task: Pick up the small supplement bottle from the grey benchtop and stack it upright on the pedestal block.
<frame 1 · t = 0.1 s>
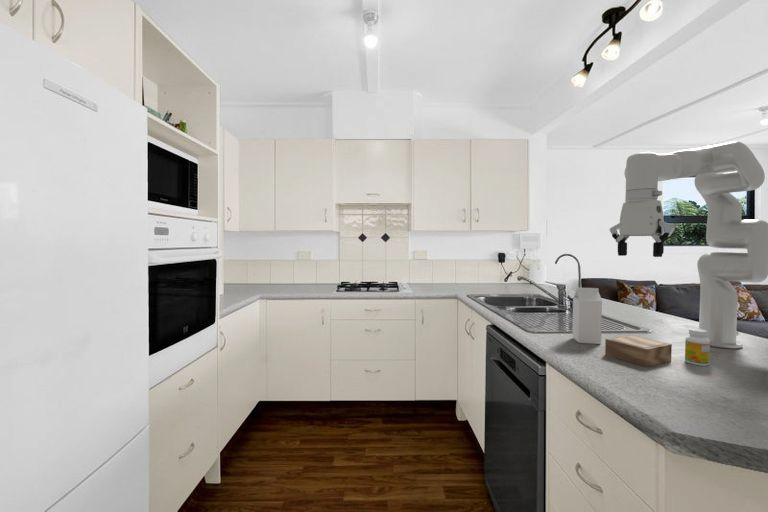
hand: (639, 256, 105), 31 cm above the worktop, fingers open, 9 cm apart
milk carton: (586, 341, 128), on the worktop
supplement bottle: (696, 363, 105), on the worktop
pedestal: (637, 357, 110), on the worktop
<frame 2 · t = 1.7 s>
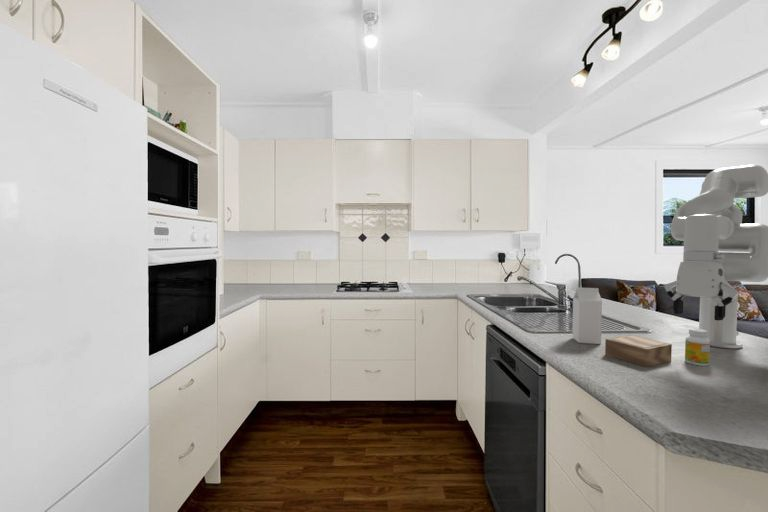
hand: (697, 316, 104), 14 cm above the worktop, fingers open, 9 cm apart
nothing on the worktop moved.
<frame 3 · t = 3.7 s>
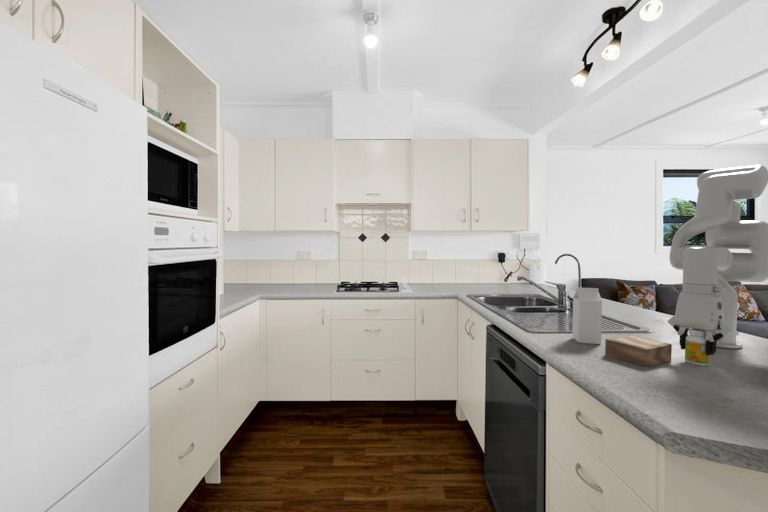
hand: (697, 351, 105), 3 cm above the worktop, fingers closed on supplement bottle, 5 cm apart
supplement bottle: (696, 363, 105), on the worktop, touching gripper
everything else where it was.
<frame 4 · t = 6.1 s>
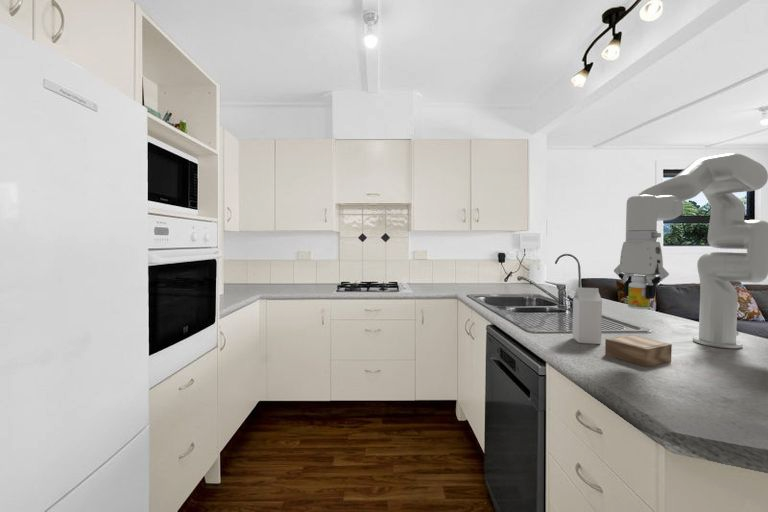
hand: (639, 296, 109), 19 cm above the worktop, fingers closed on supplement bottle, 5 cm apart
supplement bottle: (638, 308, 109), point 15 cm above the worktop, touching gripper
everything else where it was.
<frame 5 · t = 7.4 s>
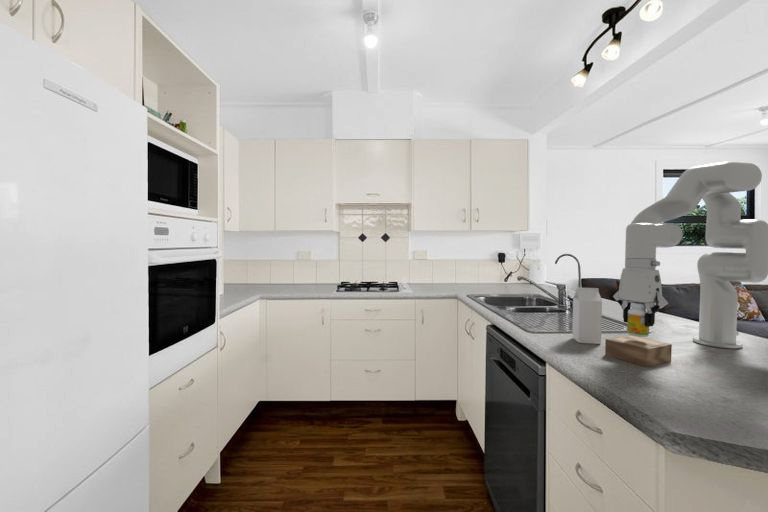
hand: (638, 323, 109), 11 cm above the worktop, fingers closed on supplement bottle, 5 cm apart
supplement bottle: (637, 335, 110), point 7 cm above the worktop, touching gripper
everything else where it was.
when the fingers open (9 cm above the worktop, at t = 8.5 s): supplement bottle stays where it is, resting on pedestal.
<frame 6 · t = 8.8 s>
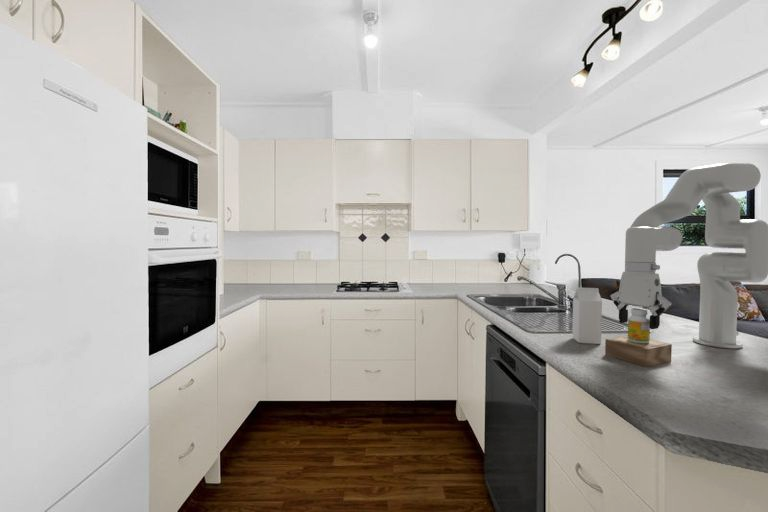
hand: (638, 325, 109), 10 cm above the worktop, fingers open, 8 cm apart
supplement bottle: (638, 341, 110), point 5 cm above the worktop, touching pedestal
everything else where it was.
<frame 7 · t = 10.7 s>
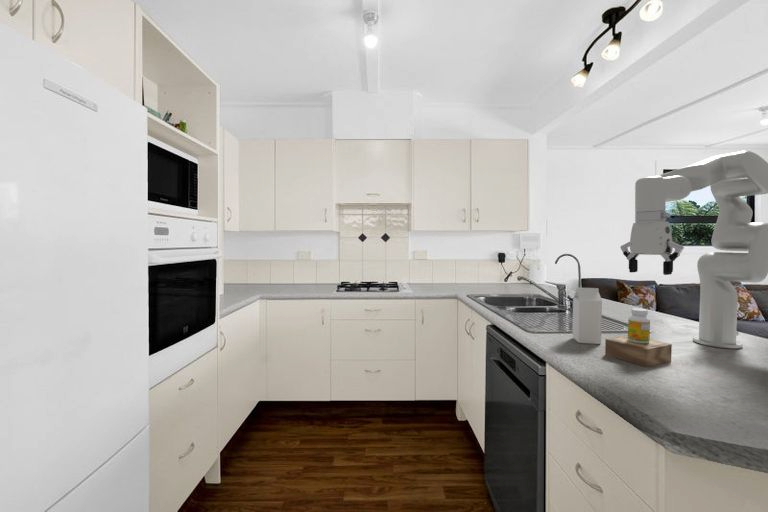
hand: (649, 273, 112), 26 cm above the worktop, fingers open, 9 cm apart
nothing on the worktop moved.
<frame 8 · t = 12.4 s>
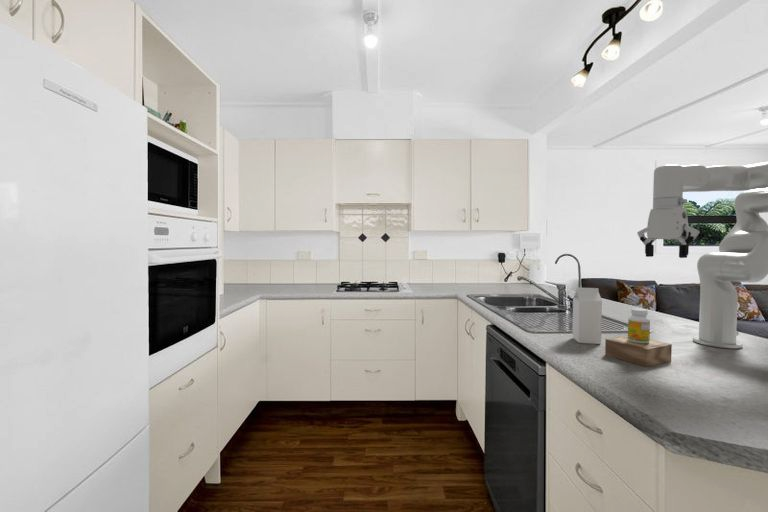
hand: (665, 257, 118), 30 cm above the worktop, fingers open, 9 cm apart
nothing on the worktop moved.
at the end: supplement bottle inside the target area on the pedestal (0.2 cm from its centre), point 4.9 cm above the pedestal's base; supplement bottle tilted 0°; the gripper is holding nothing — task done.
